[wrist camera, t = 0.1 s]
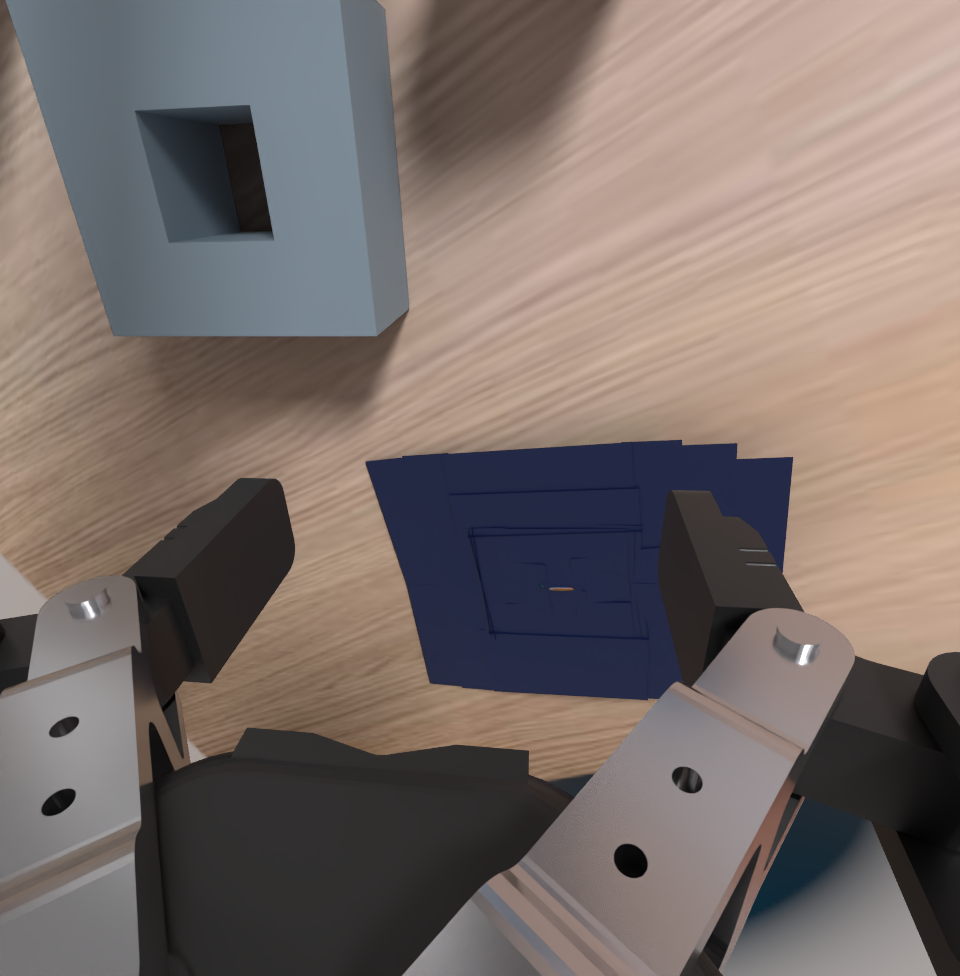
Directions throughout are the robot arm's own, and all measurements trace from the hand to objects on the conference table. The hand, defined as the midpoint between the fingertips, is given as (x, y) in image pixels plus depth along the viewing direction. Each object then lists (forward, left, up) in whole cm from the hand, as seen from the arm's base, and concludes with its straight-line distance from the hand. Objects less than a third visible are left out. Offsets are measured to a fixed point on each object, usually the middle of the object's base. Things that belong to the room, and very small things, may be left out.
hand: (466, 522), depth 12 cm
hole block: (-7, -16, -29) cm, 34 cm away
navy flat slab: (+22, +4, -30) cm, 37 cm away
